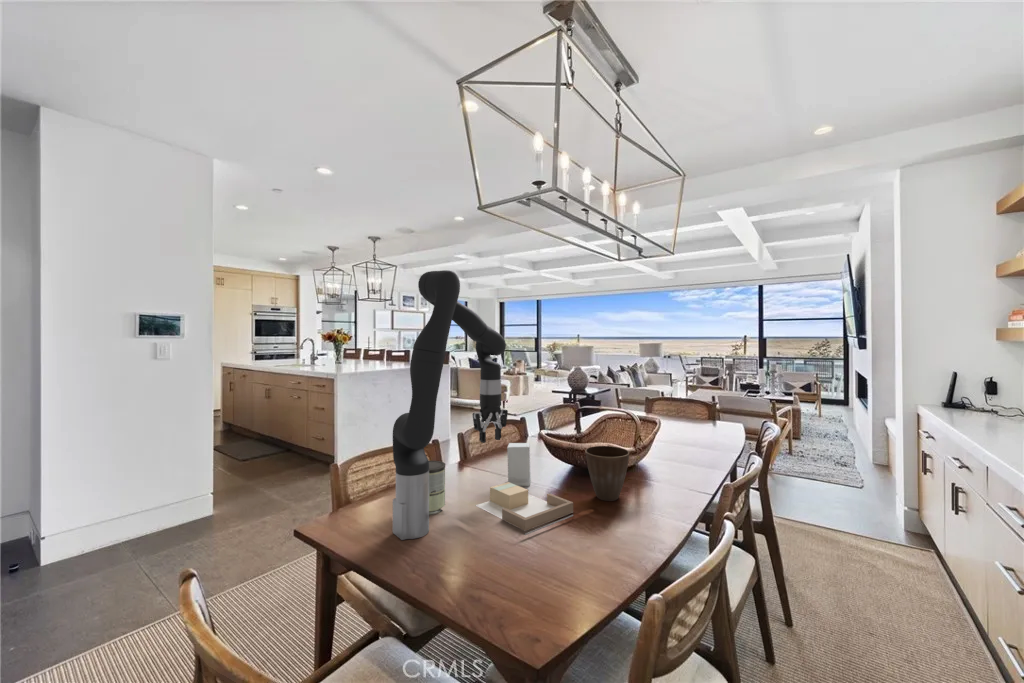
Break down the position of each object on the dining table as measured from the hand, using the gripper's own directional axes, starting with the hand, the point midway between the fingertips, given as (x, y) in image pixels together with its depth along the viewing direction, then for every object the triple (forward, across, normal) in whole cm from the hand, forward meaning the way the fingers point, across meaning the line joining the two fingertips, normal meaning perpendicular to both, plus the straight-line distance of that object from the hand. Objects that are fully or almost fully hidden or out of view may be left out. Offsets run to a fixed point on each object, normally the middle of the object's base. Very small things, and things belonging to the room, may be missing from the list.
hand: (490, 440), depth 144 cm
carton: (+18, 0, -10) cm, 21 cm away
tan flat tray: (+20, 0, -17) cm, 26 cm away
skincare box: (+20, +15, +2) cm, 25 cm away
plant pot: (+20, +31, -26) cm, 45 cm away
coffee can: (+20, -21, +5) cm, 29 cm away
